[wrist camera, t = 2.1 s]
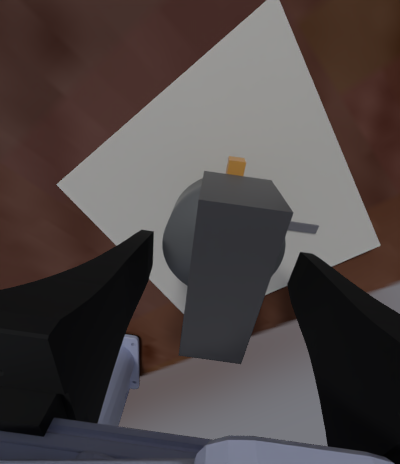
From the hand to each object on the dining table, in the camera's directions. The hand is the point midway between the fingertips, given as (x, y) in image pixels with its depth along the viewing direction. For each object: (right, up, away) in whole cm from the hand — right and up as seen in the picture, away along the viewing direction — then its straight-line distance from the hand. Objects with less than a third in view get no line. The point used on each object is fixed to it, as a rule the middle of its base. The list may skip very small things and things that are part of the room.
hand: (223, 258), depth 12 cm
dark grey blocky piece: (0, +2, +3) cm, 4 cm away
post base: (0, +3, +5) cm, 6 cm away
